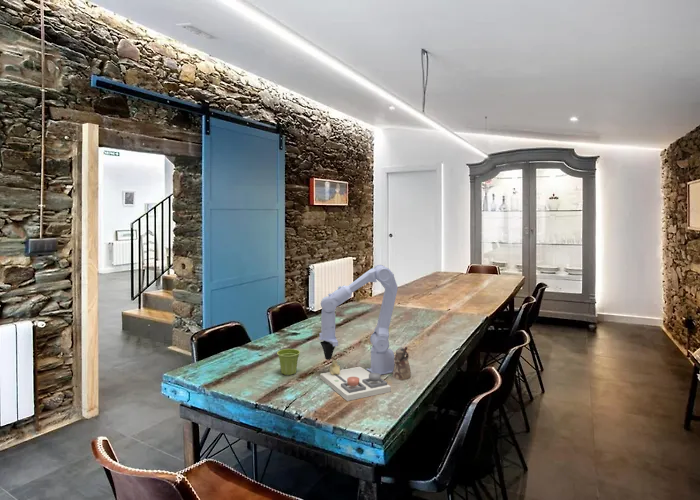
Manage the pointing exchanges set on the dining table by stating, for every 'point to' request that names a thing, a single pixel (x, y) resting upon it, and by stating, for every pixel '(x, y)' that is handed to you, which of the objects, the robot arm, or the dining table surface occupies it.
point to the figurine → (401, 365)
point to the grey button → (374, 377)
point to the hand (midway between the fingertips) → (328, 359)
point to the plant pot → (288, 360)
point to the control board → (354, 392)
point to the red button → (353, 381)
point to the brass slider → (334, 367)
